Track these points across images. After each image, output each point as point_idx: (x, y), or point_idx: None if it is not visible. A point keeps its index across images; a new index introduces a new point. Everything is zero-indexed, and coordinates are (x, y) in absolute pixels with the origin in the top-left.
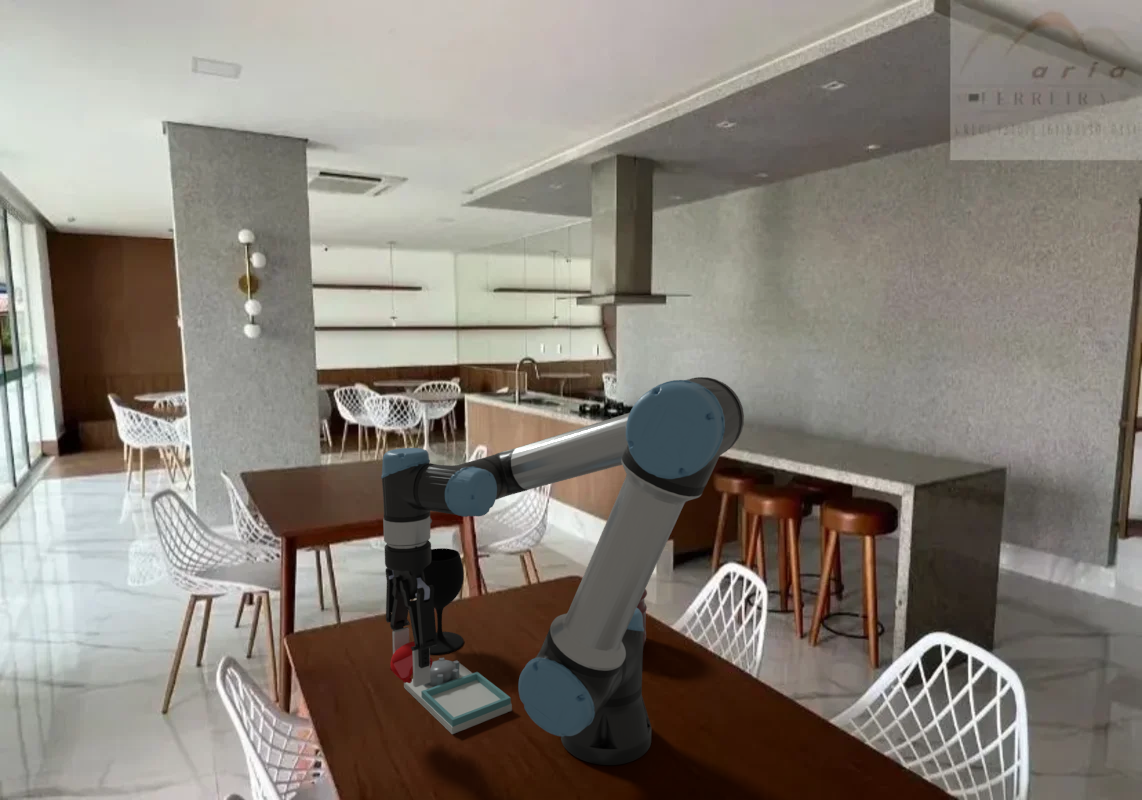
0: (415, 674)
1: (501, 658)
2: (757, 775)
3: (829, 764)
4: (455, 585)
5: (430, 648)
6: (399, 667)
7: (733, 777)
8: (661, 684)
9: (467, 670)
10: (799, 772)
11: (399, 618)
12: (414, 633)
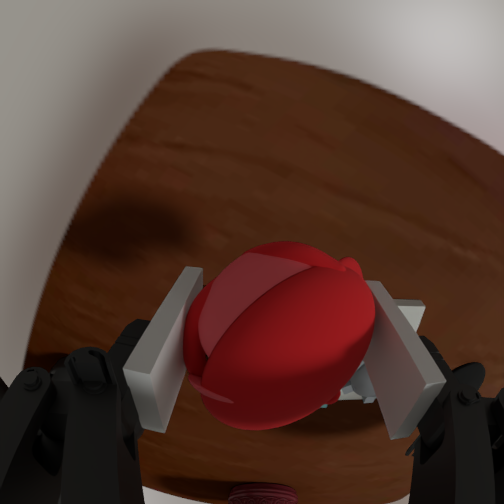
0: (171, 291)
1: (349, 433)
2: None
3: None
4: None
5: (456, 378)
6: (259, 270)
7: None
8: (164, 469)
9: (357, 397)
10: None
11: (436, 467)
12: (87, 449)
